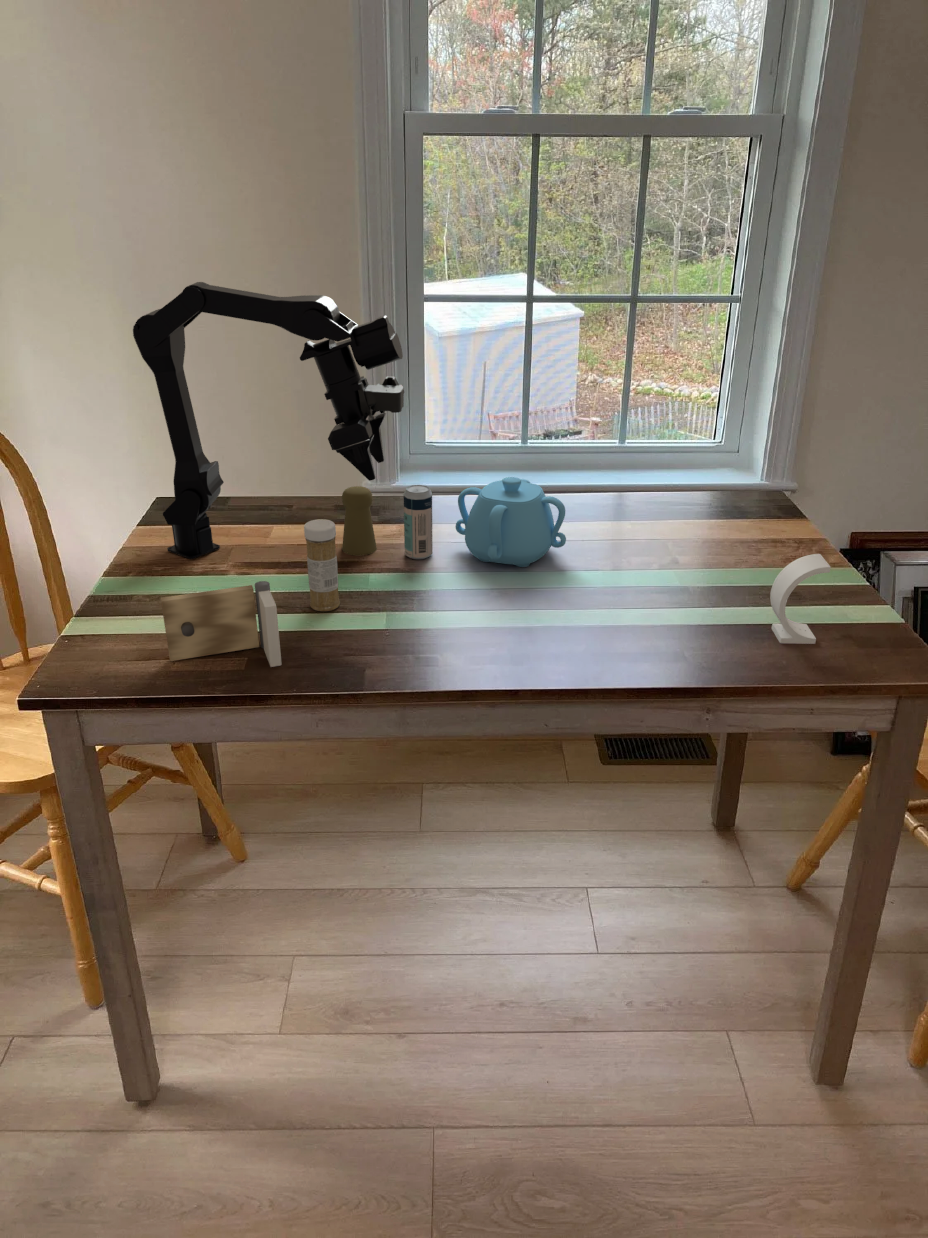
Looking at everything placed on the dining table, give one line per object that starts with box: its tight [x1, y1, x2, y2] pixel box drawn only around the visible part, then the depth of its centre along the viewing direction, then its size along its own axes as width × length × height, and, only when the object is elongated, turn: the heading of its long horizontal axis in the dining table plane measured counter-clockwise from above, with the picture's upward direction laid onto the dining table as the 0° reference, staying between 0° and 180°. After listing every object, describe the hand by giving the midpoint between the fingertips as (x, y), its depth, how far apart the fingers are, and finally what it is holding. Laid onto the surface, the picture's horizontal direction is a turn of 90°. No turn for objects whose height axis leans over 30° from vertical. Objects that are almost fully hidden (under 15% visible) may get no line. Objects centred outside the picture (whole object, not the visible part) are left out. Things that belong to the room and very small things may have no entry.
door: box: [160, 584, 260, 662], centre depth 128 cm, size 12×2×9 cm, turn 111°
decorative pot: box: [454, 476, 567, 568], centre depth 159 cm, size 16×16×14 cm
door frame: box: [254, 580, 283, 668], centre depth 128 cm, size 7×2×10 cm, turn 21°
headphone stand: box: [769, 553, 832, 645], centre depth 134 cm, size 5×6×12 cm
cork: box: [341, 485, 378, 557], centre depth 162 cm, size 6×6×11 cm
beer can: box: [402, 484, 434, 560], centre depth 159 cm, size 5×5×12 cm
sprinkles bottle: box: [303, 518, 341, 612], centre depth 141 cm, size 5×5×13 cm
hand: (377, 470), depth 154 cm, fingers open, 9 cm apart
